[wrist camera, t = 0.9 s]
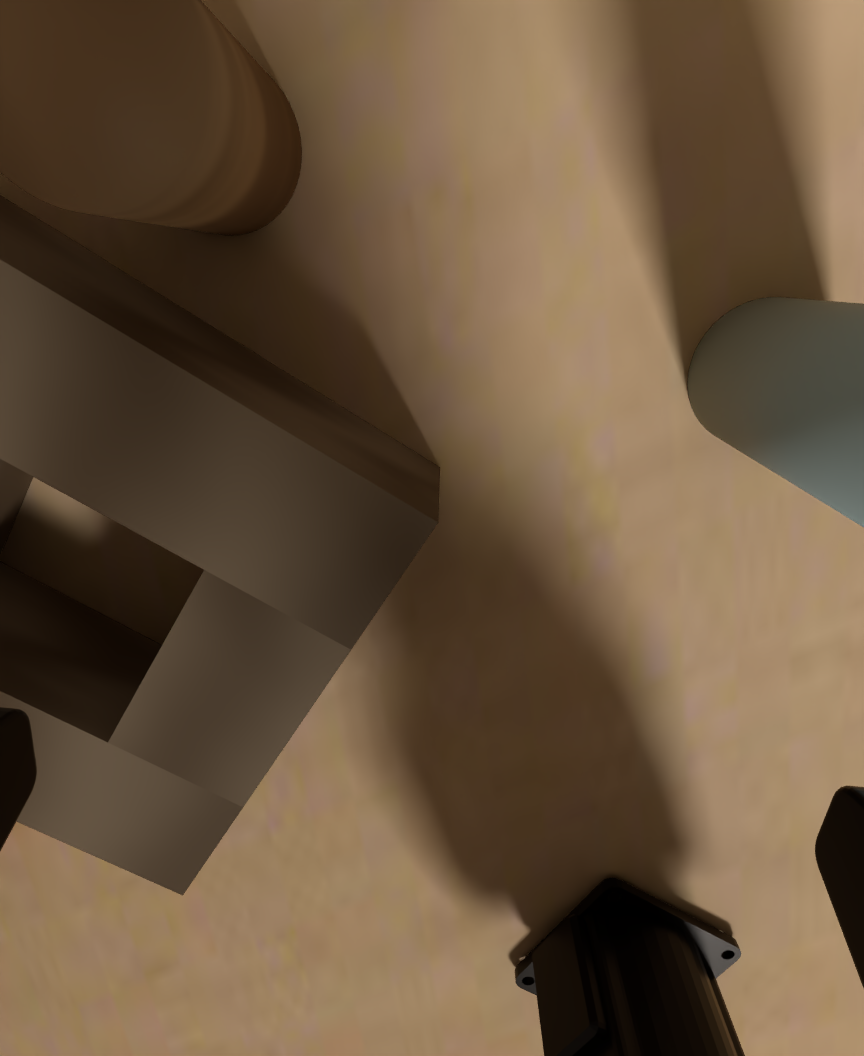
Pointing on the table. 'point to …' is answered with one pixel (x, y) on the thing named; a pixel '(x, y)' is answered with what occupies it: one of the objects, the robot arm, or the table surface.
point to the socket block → (179, 552)
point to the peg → (789, 392)
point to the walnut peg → (143, 115)
